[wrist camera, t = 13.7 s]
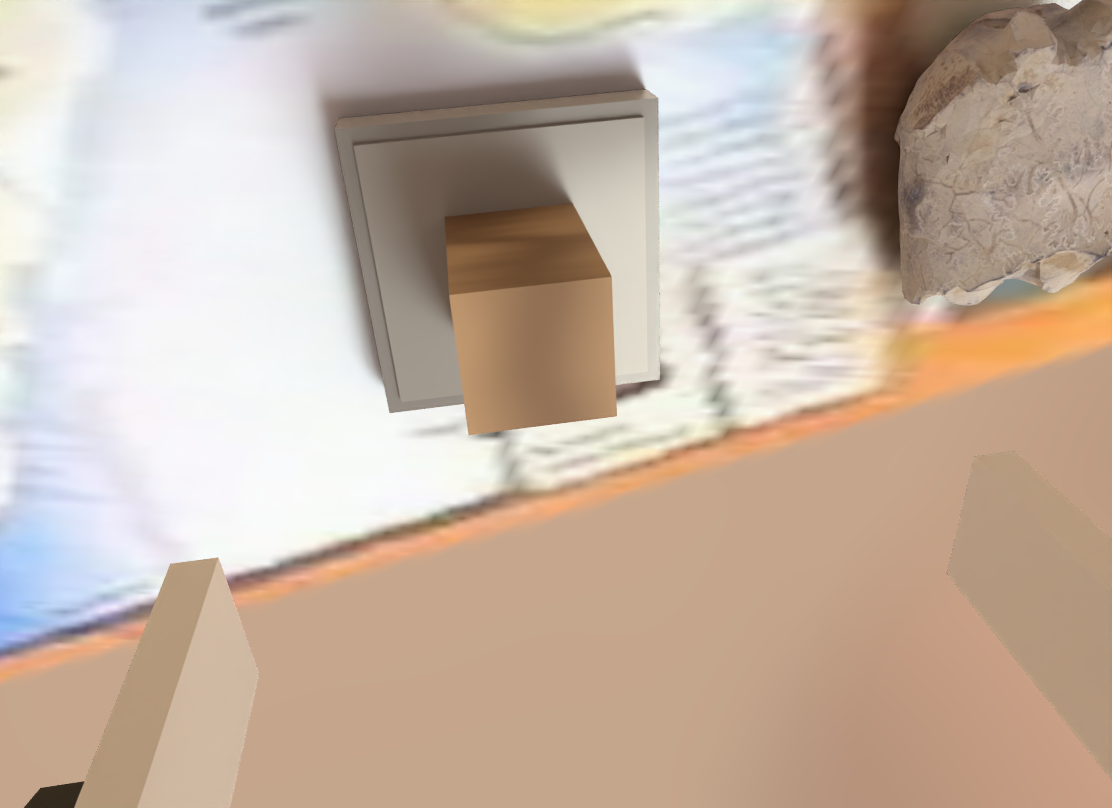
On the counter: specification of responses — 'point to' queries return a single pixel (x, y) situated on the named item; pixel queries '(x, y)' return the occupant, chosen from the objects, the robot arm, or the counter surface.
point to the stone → (1009, 155)
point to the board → (488, 186)
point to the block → (530, 318)
